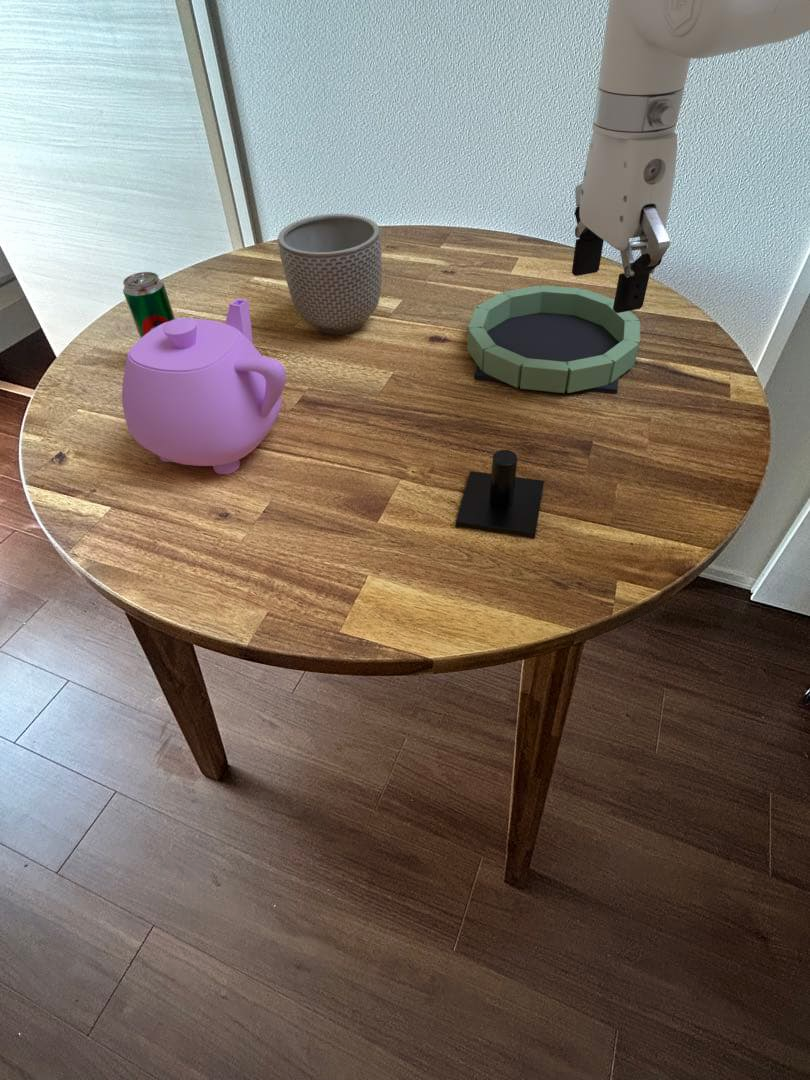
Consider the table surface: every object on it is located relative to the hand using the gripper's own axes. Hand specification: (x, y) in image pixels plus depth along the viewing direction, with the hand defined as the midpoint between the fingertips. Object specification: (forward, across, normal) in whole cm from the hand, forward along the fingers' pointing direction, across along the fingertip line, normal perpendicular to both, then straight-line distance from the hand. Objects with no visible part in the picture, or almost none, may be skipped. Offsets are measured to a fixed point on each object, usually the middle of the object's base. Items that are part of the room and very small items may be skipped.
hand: (605, 290), depth 72 cm
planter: (+12, +28, +26) cm, 40 cm away
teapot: (+13, +6, +44) cm, 46 cm away
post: (+13, -16, +18) cm, 27 cm away
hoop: (+12, +11, 0) cm, 16 cm away
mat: (+13, +11, 0) cm, 17 cm away
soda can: (+12, +25, +51) cm, 58 cm away
